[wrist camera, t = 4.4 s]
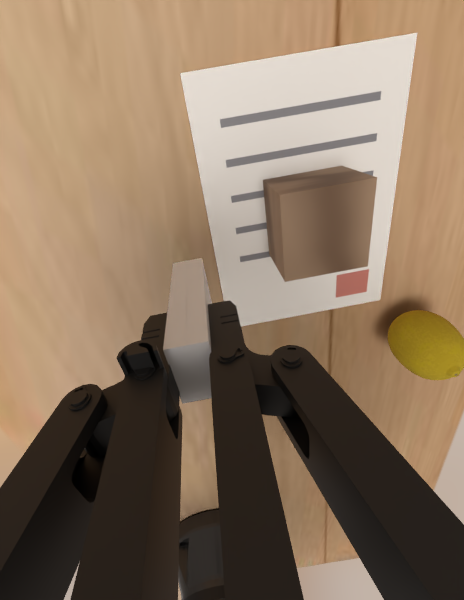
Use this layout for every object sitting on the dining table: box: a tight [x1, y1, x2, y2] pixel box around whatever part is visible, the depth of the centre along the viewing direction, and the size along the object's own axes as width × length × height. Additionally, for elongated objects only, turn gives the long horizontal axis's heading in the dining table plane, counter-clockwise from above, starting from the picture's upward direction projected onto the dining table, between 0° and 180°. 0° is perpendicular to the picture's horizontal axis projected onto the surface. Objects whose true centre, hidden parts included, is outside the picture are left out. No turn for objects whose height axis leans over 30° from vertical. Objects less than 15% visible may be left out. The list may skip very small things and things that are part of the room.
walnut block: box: [263, 166, 377, 282], centre depth 22 cm, size 6×6×5 cm
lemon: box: [388, 310, 464, 380], centre depth 28 cm, size 6×6×8 cm
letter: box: [180, 33, 417, 326], centre depth 24 cm, size 15×20×1 cm
